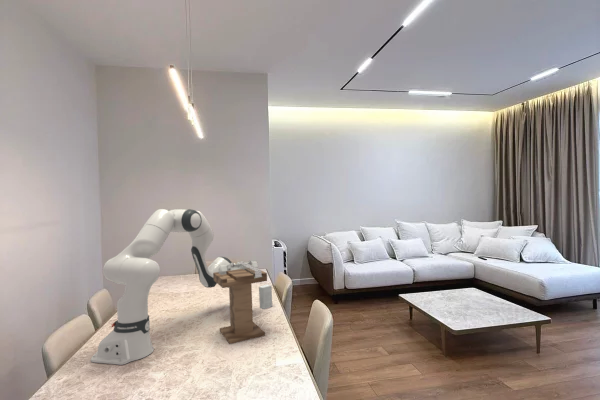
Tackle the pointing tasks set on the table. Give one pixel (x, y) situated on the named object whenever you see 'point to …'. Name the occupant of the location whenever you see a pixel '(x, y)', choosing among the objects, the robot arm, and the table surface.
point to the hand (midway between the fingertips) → (242, 263)
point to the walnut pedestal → (240, 304)
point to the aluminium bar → (249, 269)
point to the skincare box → (265, 296)
